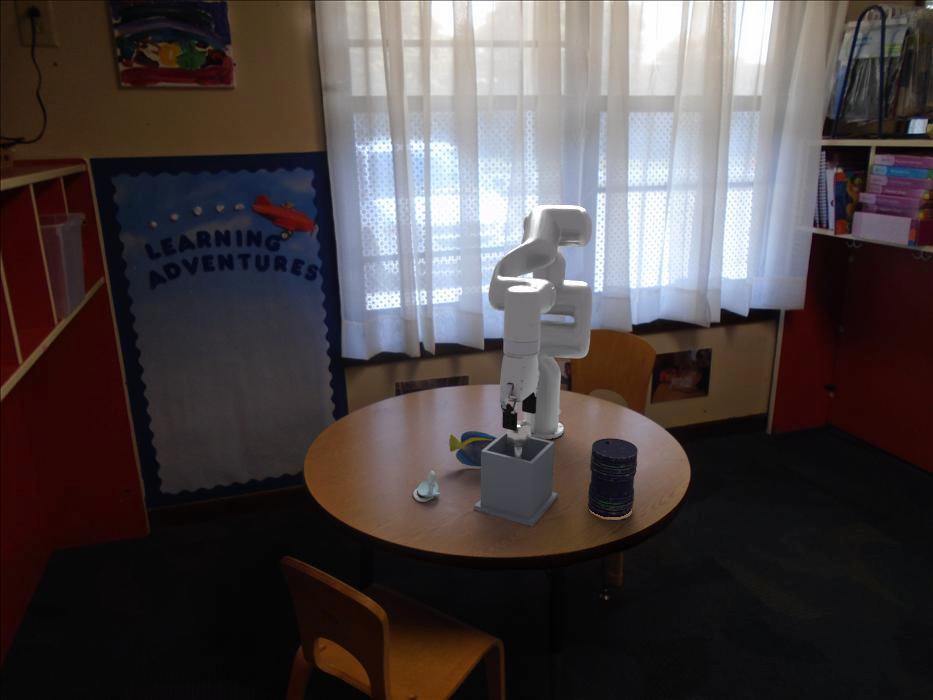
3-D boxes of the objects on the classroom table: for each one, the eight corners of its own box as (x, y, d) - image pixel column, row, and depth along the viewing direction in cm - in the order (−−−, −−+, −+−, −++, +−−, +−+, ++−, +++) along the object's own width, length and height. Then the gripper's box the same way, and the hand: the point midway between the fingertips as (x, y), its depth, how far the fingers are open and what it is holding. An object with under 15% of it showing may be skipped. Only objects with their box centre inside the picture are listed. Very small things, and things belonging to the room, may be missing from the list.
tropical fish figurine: (512, 466, 171) (513, 429, 168) (512, 472, 168) (513, 434, 165) (449, 464, 172) (449, 427, 169) (448, 469, 169) (448, 432, 166)
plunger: (507, 477, 159) (509, 413, 155) (544, 487, 155) (547, 422, 150) (488, 495, 152) (489, 428, 147) (527, 506, 147) (530, 438, 142)
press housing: (502, 482, 163) (503, 428, 159) (557, 497, 157) (560, 441, 153) (474, 509, 152) (474, 451, 147) (532, 526, 145) (534, 466, 141)
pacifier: (414, 505, 153) (441, 503, 154) (413, 480, 152) (440, 478, 152) (412, 489, 160) (437, 487, 161) (410, 465, 158) (436, 463, 159)
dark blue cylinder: (641, 516, 149) (647, 454, 145) (602, 524, 146) (607, 461, 141) (616, 494, 158) (621, 435, 154) (579, 502, 155) (582, 441, 150)
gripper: (522, 332, 152) (520, 403, 157) (486, 354, 138) (485, 432, 143) (554, 337, 148) (551, 409, 154) (520, 360, 134) (518, 439, 140)
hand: (519, 420), depth 149 cm, fingers open, 9 cm apart
